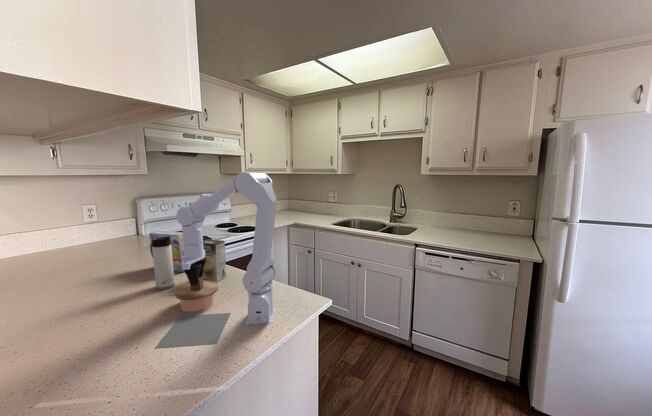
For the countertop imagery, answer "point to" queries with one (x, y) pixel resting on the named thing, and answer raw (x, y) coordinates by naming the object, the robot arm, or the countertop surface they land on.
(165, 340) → the mat
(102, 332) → the countertop surface
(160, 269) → the travel mug
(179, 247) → the cake pan box
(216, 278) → the coffee box
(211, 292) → the lid
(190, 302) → the bowl
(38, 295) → the countertop surface
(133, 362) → the countertop surface
